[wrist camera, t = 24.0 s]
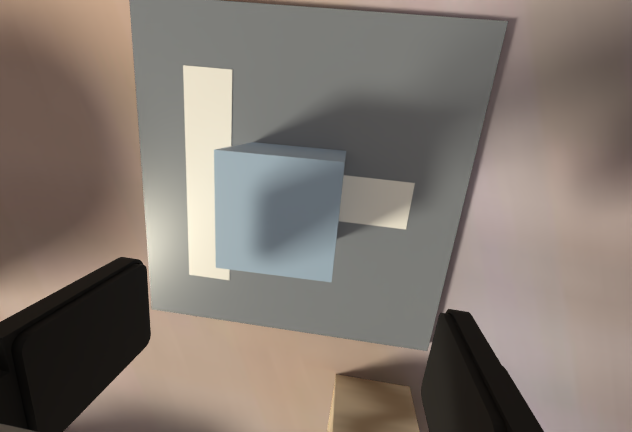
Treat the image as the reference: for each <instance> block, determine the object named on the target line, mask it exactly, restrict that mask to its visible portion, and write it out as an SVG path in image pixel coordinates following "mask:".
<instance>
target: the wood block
mask: <svg viewBox="0 0 632 432" xmlns="http://www.w3.org/2000/svg"><path fill="white" fill-rule="evenodd" d="M327 432H420V431H419V427H418V422H417V418H416V413H415V409H414V404H413V400H412V395H411V391H410V387H409V386H403V385H397V384H391V383H385V382H379V381H373V380H367V379H362V378H356V377H350V376H344V375H338V374H336V377H335V384H334V390H333V396H332V403H331V409H330V416H329V422H328V429H327Z"/></svg>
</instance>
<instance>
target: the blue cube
mask: <svg viewBox="0 0 632 432" xmlns="http://www.w3.org/2000/svg"><path fill="white" fill-rule="evenodd" d="M345 159H346V151H343V150H332V149H322V148H311V147H300V146H289V145H278V144H268V143H257V142H251V143H246V144H241V145H236V146H231V147H225V148H220V149H215V150H214V184H215V250H216V268H222V269H229V270H237V271H245V272H253V273H261V274H269V275H277V276H285V277H293V278H300V279H308V280H316V281H324V282H332V274H333V266H334V257H335V249H336V241H337V232H338V223H339V214H340V204H341V195H342V186H343V177H344V168H345Z"/></svg>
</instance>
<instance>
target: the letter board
mask: <svg viewBox="0 0 632 432" xmlns="http://www.w3.org/2000/svg"><path fill="white" fill-rule="evenodd" d="M129 1H130V15H131V29H132V42H133V56H134V70H135V84H136V98H137V112H138V125H139V139H140V153H141V167H142V181H143V195H144V208H145V222H146V236H147V250H148V264H149V278H150V292H151V305H152V309H153V310H160V311H167V312H173V313H180V314H186V315H193V316H200V317H206V318H213V319H219V320H226V321H232V322H239V323H246V324H252V325H259V326H265V327H272V328H279V329H285V330H292V331H298V332H305V333H311V334H318V335H325V336H331V337H338V338H344V339H351V340H358V341H364V342H371V343H377V344H384V345H390V346H397V347H404V348H410V349H417V350H423V351H428V347H429V343H430V339H431V335H432V331H433V327H434V322H435V318H436V314H437V310H438V306H439V302H440V298H441V294H442V290H443V286H444V282H445V277H446V273H447V269H448V265H449V261H450V257H451V253H452V249H453V245H454V241H455V237H456V232H457V228H458V224H459V220H460V216H461V212H462V208H463V204H464V200H465V196H466V192H467V188H468V183H469V179H470V175H471V171H472V167H473V163H474V159H475V155H476V151H477V147H478V143H479V138H480V134H481V130H482V126H483V122H484V118H485V114H486V110H487V106H488V102H489V98H490V93H491V89H492V85H493V81H494V77H495V73H496V69H497V65H498V61H499V57H500V53H501V48H502V44H503V40H504V36H505V32H506V28H507V24H508V21H498V20H485V19H471V18H457V17H443V16H429V15H415V14H401V13H387V12H373V11H359V10H345V9H331V8H318V7H304V6H290V5H276V4H262V3H248V2H234V1H220V0H129ZM251 142H257V143H268V144H278V145H289V146H300V147H311V148H322V149H332V150H343V151H346V159H345V168H344V177H343V186H342V195H341V204H340V214H339V223H338V232H337V241H336V249H335V257H334V266H333V274H332V282H324V281H316V280H308V279H300V278H293V277H285V276H277V275H269V274H261V273H253V272H245V271H237V270H229V269H222V268H216V250H215V184H214V150H215V149H220V148H225V147H231V146H236V145H241V144H246V143H251Z"/></svg>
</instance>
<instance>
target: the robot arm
mask: <svg viewBox="0 0 632 432" xmlns="http://www.w3.org/2000/svg"><path fill="white" fill-rule="evenodd" d="M150 336H151V332H150V316H149V299H148V283H147V269H146V266H145V265H143V263H142V261H140V260H138V259H132V258H126V257H120V258H118V259H116V260H114V261H112V262H110V263H108V264H107V265H105V266H103V267H101V268H99V269H97V270H95V271H94V272H92V273H90V274H88V275H86V276H84V277H83V278H81V279H79V280H77V281H75V282H73V283H71V284H70V285H68V286H66V287H64V288H62V289H60V290H58V291H57V292H55V293H53V294H51V295H49V296H47V297H46V298H44V299H42V300H40V301H38V302H36V303H34V304H33V305H31V306H29V307H27V308H25V309H23V310H21V311H20V312H18V313H16V314H14V315H12V316H10V317H9V318H7V319H5V320H3V321H1V322H0V432H63V431H64V430H65V429H66V428H67V427H68V426H69V425H70V424H71V423H72V422H73V421H74V420H75V419H76V418H77V417H78V416H79V415H80V414H81V413H82V412H83V411H84V410H85V409H86V408H87V407H88V406H89V405H90V404H91V402H92V401H93V400H94V399H95V398H96V397H97V396H98V395H99V394H100V393H101V392H102V391H103V390H104V389H105V388H106V387H107V386H108V385H109V384H110V383H111V382H112V381H113V380H114V379H115V378H116V377H117V376H118V375H119V374H120V373H121V372H122V371H123V370H124V369H125V368H126V367H127V366H128V365H129V363H130V362H131V361H132V360H133V359H134V358H135V357H136V356H137V355H138V354H139V353H140V352H141V351H142V350H143V349H144V348H145V347H146V346H147V344H148V343H149V340H150ZM421 396H422V402H423V406H424V410H425V415H426V419H427V423H428V428H429V432H544V431H543V429H542V428H541V426H540V424H539V423H538V421H537V420H536V418H535V416H534V415H533V413H532V411H531V410H530V408H529V406H528V405H527V403H526V402H525V400H524V398H523V397H522V395H521V393H520V392H519V390H518V388H517V387H516V385H515V383H514V382H513V380H512V379H511V377H510V375H509V374H508V372H507V371H506V369H505V368H504V367H503V366H502V365H501V363H500V362H499V360H498V358H497V357H496V355H495V353H494V352H493V350H492V348H491V347H490V345H489V343H488V342H487V340H486V338H485V337H484V335H483V333H482V332H481V330H480V329H479V327H478V325H477V324H476V322H475V320H474V319H473V317H472V315H471V314H470V313H469V312H464V311H458V310H452V309H448V310H447V311H446V313H440V315H439V318H438V322H437V326H436V330H435V334H434V338H433V342H432V346H431V350H430V354H429V358H428V362H427V366H426V370H425V374H424V378H423V382H422V387H421Z"/></svg>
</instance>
